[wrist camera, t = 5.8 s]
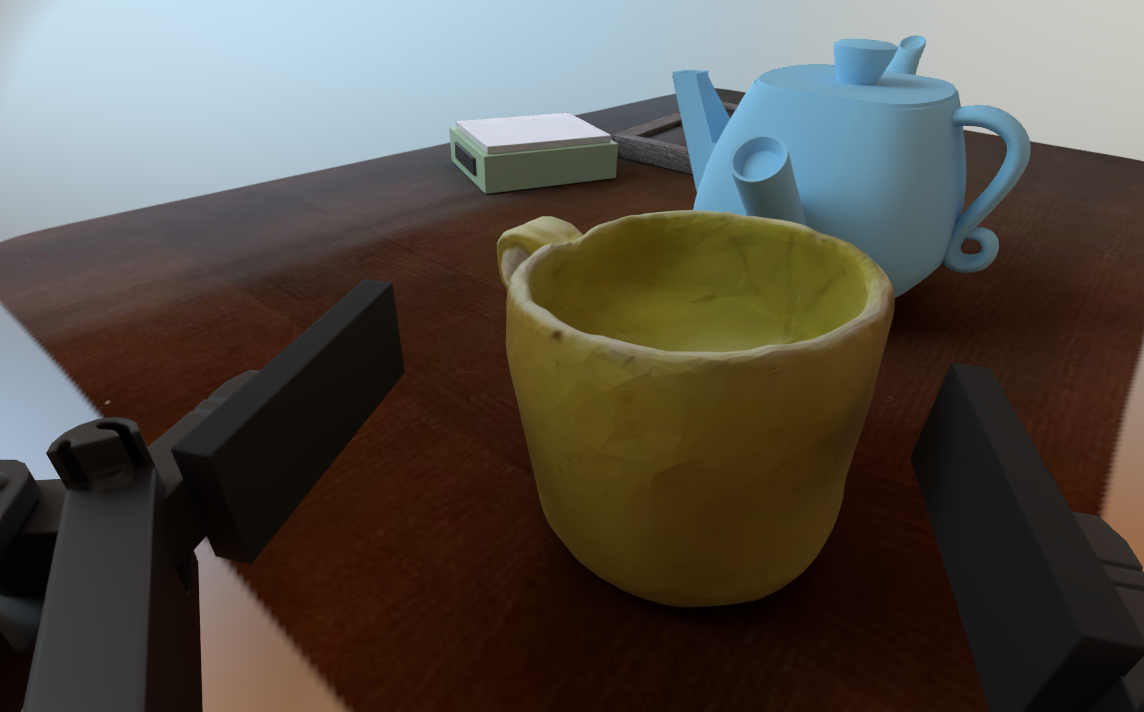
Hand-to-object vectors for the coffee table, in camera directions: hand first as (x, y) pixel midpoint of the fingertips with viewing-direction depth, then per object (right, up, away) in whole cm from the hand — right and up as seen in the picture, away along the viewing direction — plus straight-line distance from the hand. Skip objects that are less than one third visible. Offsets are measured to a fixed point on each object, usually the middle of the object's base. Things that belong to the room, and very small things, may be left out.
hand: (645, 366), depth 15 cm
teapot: (+10, +4, +18) cm, 21 cm away
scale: (-5, +14, +32) cm, 35 cm away
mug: (0, -4, +6) cm, 7 cm away
